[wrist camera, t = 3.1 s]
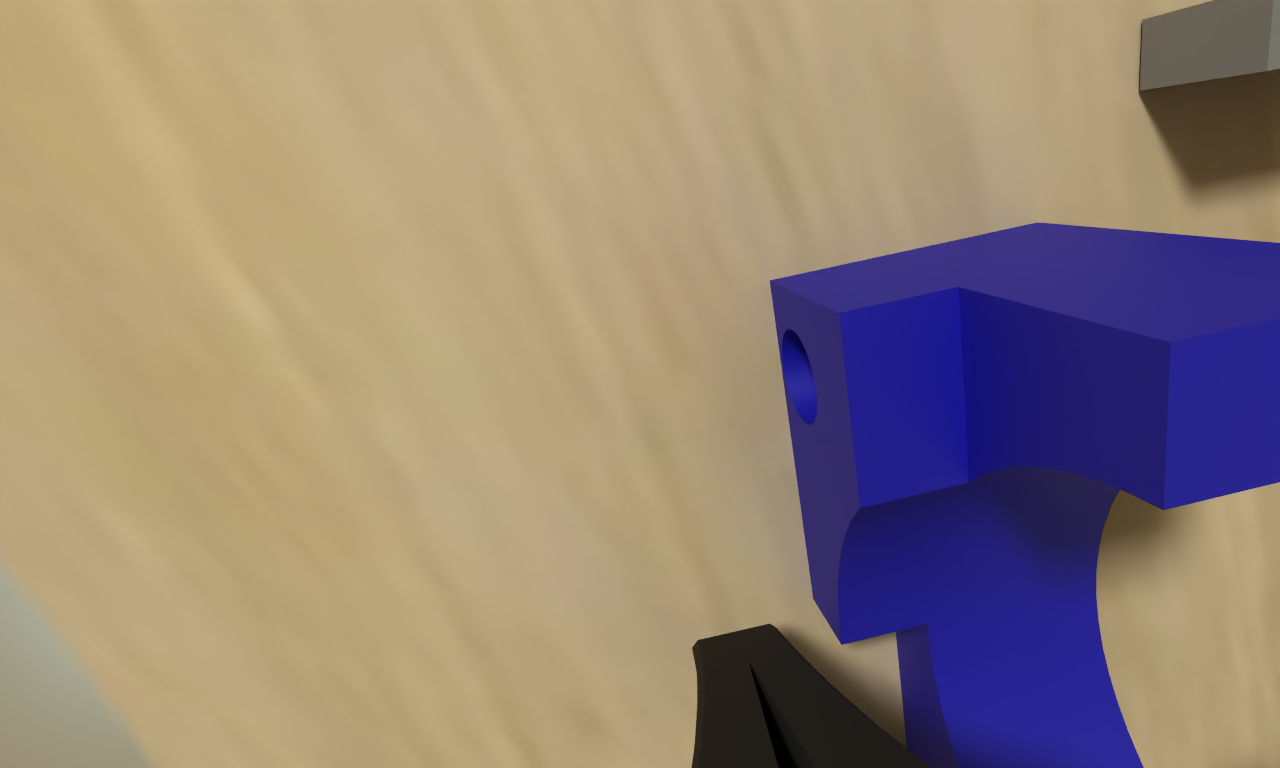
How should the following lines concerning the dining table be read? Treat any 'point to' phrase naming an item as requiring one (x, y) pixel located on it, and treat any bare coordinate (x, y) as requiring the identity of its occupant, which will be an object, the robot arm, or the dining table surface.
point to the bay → (1210, 42)
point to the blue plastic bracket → (1016, 457)
